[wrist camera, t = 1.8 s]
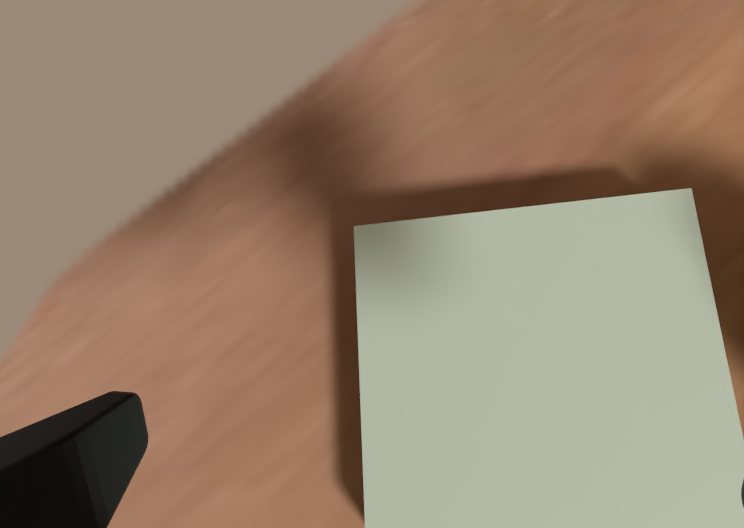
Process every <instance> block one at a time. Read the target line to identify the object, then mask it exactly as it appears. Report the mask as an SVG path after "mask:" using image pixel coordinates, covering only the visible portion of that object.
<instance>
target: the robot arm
mask: <svg viewBox="0 0 744 528" xmlns="http://www.w3.org/2000/svg"><path fill="white" fill-rule="evenodd" d="M147 444H148V432H147V427H146V422H145V417H144V412H143V408H142V403H141V399H140V398H139V396H138V395H137V394H135V393H132V392H119V391H112V392H108V393H106V394H104V395H101V396H99V397H96V398H94V399H92V400H89V401H87V402H84V403H82V404H80V405H77V406H75V407H72V408H70V409H67V410H65V411H63V412H60V413H58V414H55V415H53V416H51V417H48V418H46V419H43V420H41V421H39V422H36V423H34V424H31V425H29V426H27V427H24V428H22V429H19V430H17V431H15V432H12V433H10V434H7V435H5V436H3V437H0V528H107V526H108V524H109V522H110V520H111V519H112V517H113V515H114V513H115V511H116V509H117V507H118V505H119V503H120V501H121V499H122V497H123V495H124V493H125V491H126V489H127V487H128V485H129V483H130V481H131V479H132V477H133V475H134V473H135V471H136V469H137V467H138V465H139V463H140V461H141V459H142V457H143V455H144V453H145V451H146V448H147ZM741 498H742V504H743V508H744V479H743V484H742V489H741Z"/></svg>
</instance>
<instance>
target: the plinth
mask: <svg viewBox="0 0 744 528" xmlns="http://www.w3.org/2000/svg"><path fill="white" fill-rule="evenodd" d="M354 248H355V275H356V301H357V328H358V355H359V382H360V409H361V435H362V462H363V489H364V516H365V528H744V508H743V504H742V498H741V489H742V484H743V479H744V440H743V435H742V430H741V425H740V420H739V415H738V411H737V406H736V401H735V396H734V391H733V386H732V382H731V377H730V372H729V367H728V362H727V357H726V353H725V348H724V343H723V338H722V333H721V328H720V324H719V319H718V314H717V309H716V304H715V299H714V295H713V290H712V285H711V280H710V275H709V270H708V266H707V261H706V256H705V251H704V246H703V241H702V237H701V232H700V227H699V222H698V217H697V212H696V208H695V203H694V198H693V193H692V188H687V189H678V190H669V191H660V192H652V193H643V194H634V195H625V196H616V197H607V198H598V199H589V200H581V201H572V202H563V203H554V204H545V205H536V206H527V207H518V208H510V209H501V210H492V211H483V212H474V213H465V214H456V215H448V216H439V217H430V218H421V219H412V220H403V221H394V222H385V223H377V224H368V225H359V226H354Z"/></svg>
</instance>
